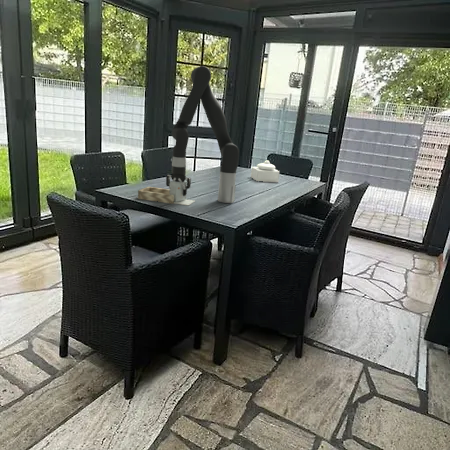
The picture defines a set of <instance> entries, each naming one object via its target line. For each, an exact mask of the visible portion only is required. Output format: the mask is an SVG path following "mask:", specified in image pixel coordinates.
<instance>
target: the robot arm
mask: <svg viewBox="0 0 450 450" xmlns="http://www.w3.org/2000/svg"><path fill="white" fill-rule="evenodd" d="M190 80H191V82H192V87H191V90H190V92H189V93H188V96H187V98H186V99H185V102H184V104H183V106H182V108H181V111H180V113H179V114H180V115H179V117H178V119H177V121H176V122H175V124H174V126H173V128H172V130H171V136H172V138H173V139H174V140H175V145H174V146H173V148H172V160H171V175H170V174H167V175H166V176H165V181H166V182H165V186H166V187H168V189H169V192H170V181H171V180H172V181H174V182H175V181H176V182H180V183H181V185H182V187H183V196H185V195H186V196H187V193H188V191H187V190H188V189H191V184H192V178H191V177H187V175H186V171H187V170H186V169H187V147H188V142H189V137H190V135H189V132H188V130H187V129H188V127H189V126H190V125H191V124H192V123H193V120H194V117H195V114H196V112H197V109H198V107H199V103H200V101H201V104H202V108H203V109H204V112H205V116H206V119H207V120H208V123H209V125H210V128H211V130H212V132H213V134H214V136H215V138H216V141H217V144H218V148H219V153H220V155H221V156H222V160H221V164H220V165H221V166H220V168H219V178H218V179H219V181H218V191H217V201H218V202H220V203H225V204H232V203H234V202H235V197H236V188H237V186H236V178H237V177H236V176H237V169H238V167H239V159H240V158H239V157H240V149H239V147H238V146H237V145H236V144H234V143H233V141H232V138H231V137H230V134H229V130H228V124H227V119H226V116H225V113H224V110H223V108H222V106H221V104H220V102H219V101H218V99H217V98H216V97H215V95H214V92H213V91H212V88H211V85H210V82H211V80H212V73H211V70H210V69H209V67H207V66H204V65H200V66H198V67H196V68H194V69H193V70H192V71H191V74H190ZM185 181H186V182H187V186H186V184H185V183H184V184H183V182H185Z"/></svg>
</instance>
